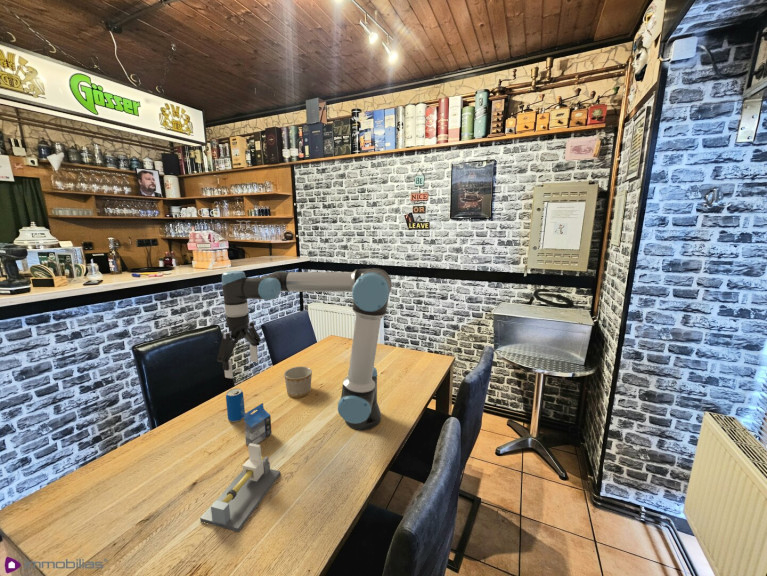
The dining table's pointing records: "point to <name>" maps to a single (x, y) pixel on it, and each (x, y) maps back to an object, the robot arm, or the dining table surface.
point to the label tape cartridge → (257, 425)
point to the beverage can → (235, 405)
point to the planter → (298, 381)
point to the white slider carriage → (254, 462)
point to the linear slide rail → (240, 499)
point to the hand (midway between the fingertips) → (242, 369)
